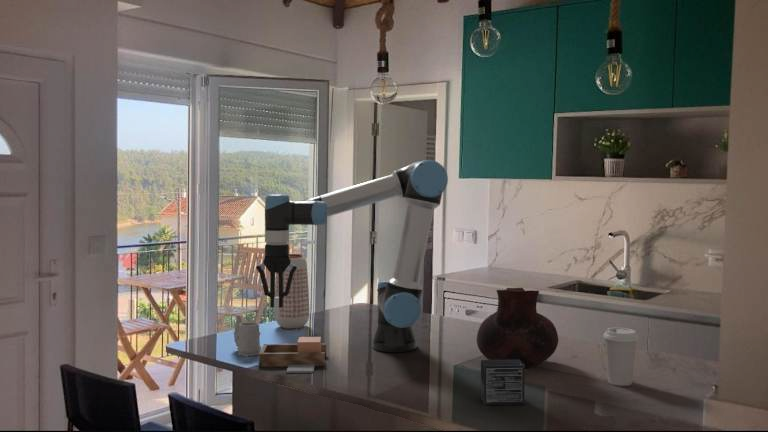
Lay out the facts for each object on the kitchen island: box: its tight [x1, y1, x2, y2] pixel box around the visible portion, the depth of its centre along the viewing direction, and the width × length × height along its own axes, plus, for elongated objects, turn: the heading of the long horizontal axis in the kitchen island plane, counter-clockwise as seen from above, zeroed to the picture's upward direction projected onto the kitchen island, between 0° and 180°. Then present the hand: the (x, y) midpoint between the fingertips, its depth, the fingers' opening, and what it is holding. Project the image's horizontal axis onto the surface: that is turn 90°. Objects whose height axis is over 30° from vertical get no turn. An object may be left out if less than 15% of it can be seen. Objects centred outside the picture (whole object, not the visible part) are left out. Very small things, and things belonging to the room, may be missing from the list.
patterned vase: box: [275, 253, 310, 330], centre depth 269 cm, size 13×13×28 cm
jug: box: [476, 287, 559, 369], centre depth 216 cm, size 25×25×25 cm
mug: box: [233, 314, 262, 357], centre depth 231 cm, size 8×12×12 cm, turn 47°
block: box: [296, 336, 322, 353], centre depth 221 cm, size 7×7×7 cm
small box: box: [480, 359, 526, 406], centre depth 181 cm, size 11×6×10 cm, turn 92°
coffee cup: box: [602, 327, 639, 387], centre depth 198 cm, size 10×10×15 cm
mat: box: [285, 364, 316, 374], centre depth 211 cm, size 8×7×1 cm
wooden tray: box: [258, 343, 327, 368], centre depth 221 cm, size 20×12×4 cm, turn 92°
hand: (276, 317), depth 220 cm, fingers closed
